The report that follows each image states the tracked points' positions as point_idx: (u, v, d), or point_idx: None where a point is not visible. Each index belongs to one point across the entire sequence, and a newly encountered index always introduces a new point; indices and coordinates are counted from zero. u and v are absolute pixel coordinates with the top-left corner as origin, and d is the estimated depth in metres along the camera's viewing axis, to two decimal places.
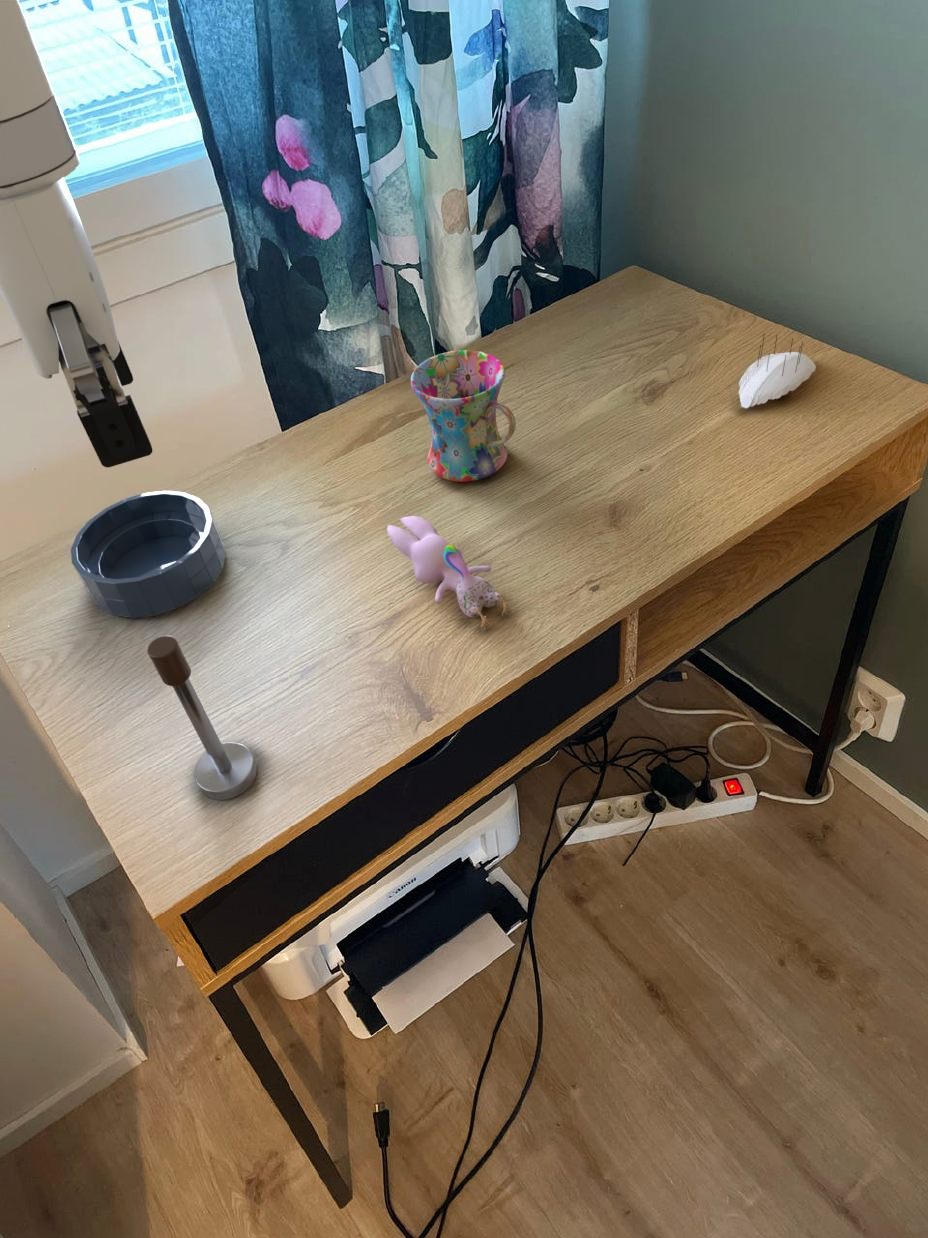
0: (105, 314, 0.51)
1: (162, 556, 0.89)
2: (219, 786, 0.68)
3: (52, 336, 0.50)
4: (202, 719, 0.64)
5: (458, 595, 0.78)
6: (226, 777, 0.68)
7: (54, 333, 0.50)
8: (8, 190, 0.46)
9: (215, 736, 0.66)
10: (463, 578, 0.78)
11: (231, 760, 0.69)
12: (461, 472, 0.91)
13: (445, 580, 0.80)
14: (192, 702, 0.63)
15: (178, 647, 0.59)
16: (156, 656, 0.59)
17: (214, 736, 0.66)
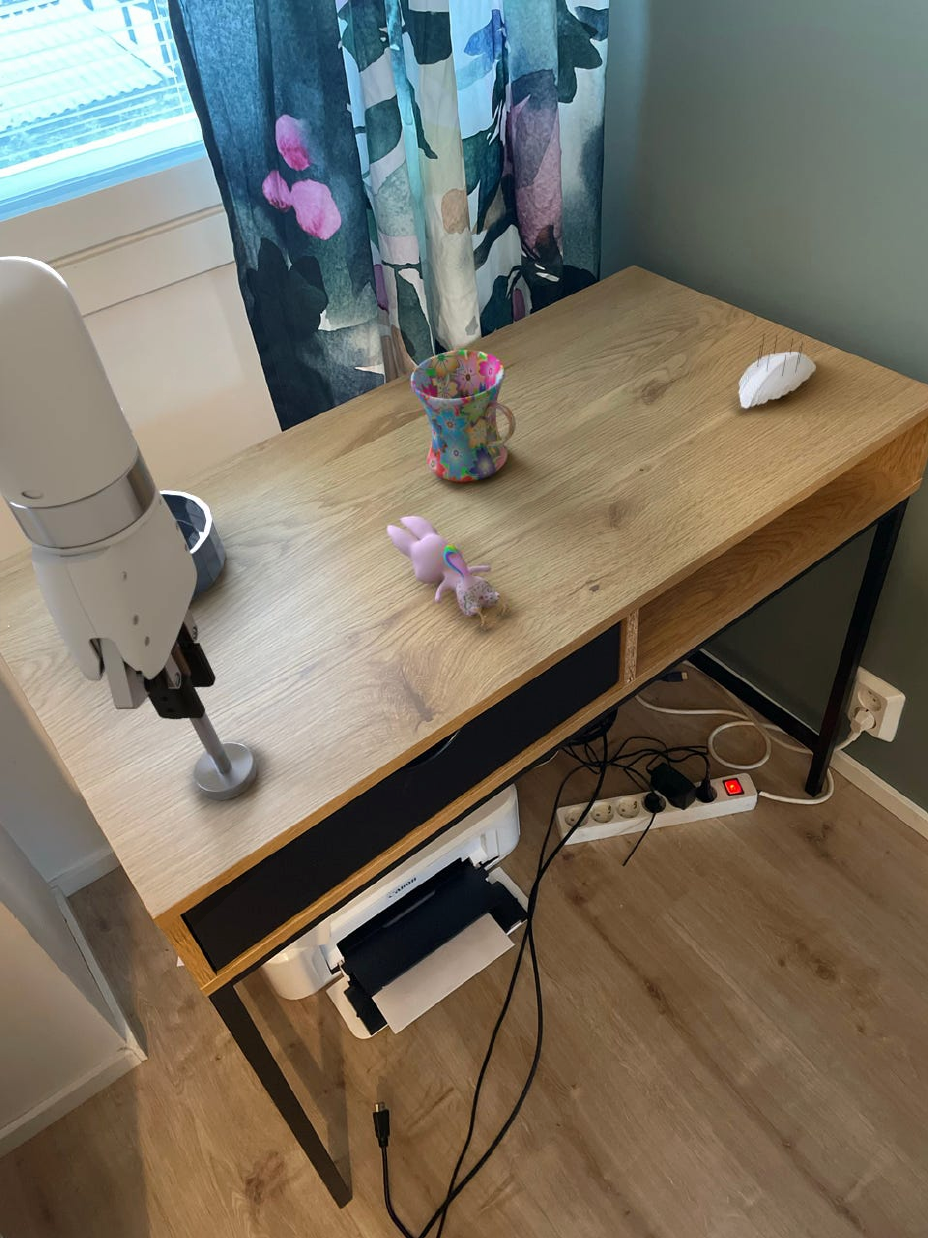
0: (145, 648, 0.53)
1: None
2: (219, 786, 0.68)
3: (93, 659, 0.53)
4: (202, 719, 0.64)
5: (458, 595, 0.78)
6: (226, 777, 0.68)
7: (95, 657, 0.52)
8: (65, 551, 0.48)
9: (215, 736, 0.66)
10: (463, 578, 0.78)
11: (231, 760, 0.69)
12: (461, 472, 0.91)
13: (445, 580, 0.80)
14: None
15: (178, 647, 0.59)
16: None
17: (214, 736, 0.66)
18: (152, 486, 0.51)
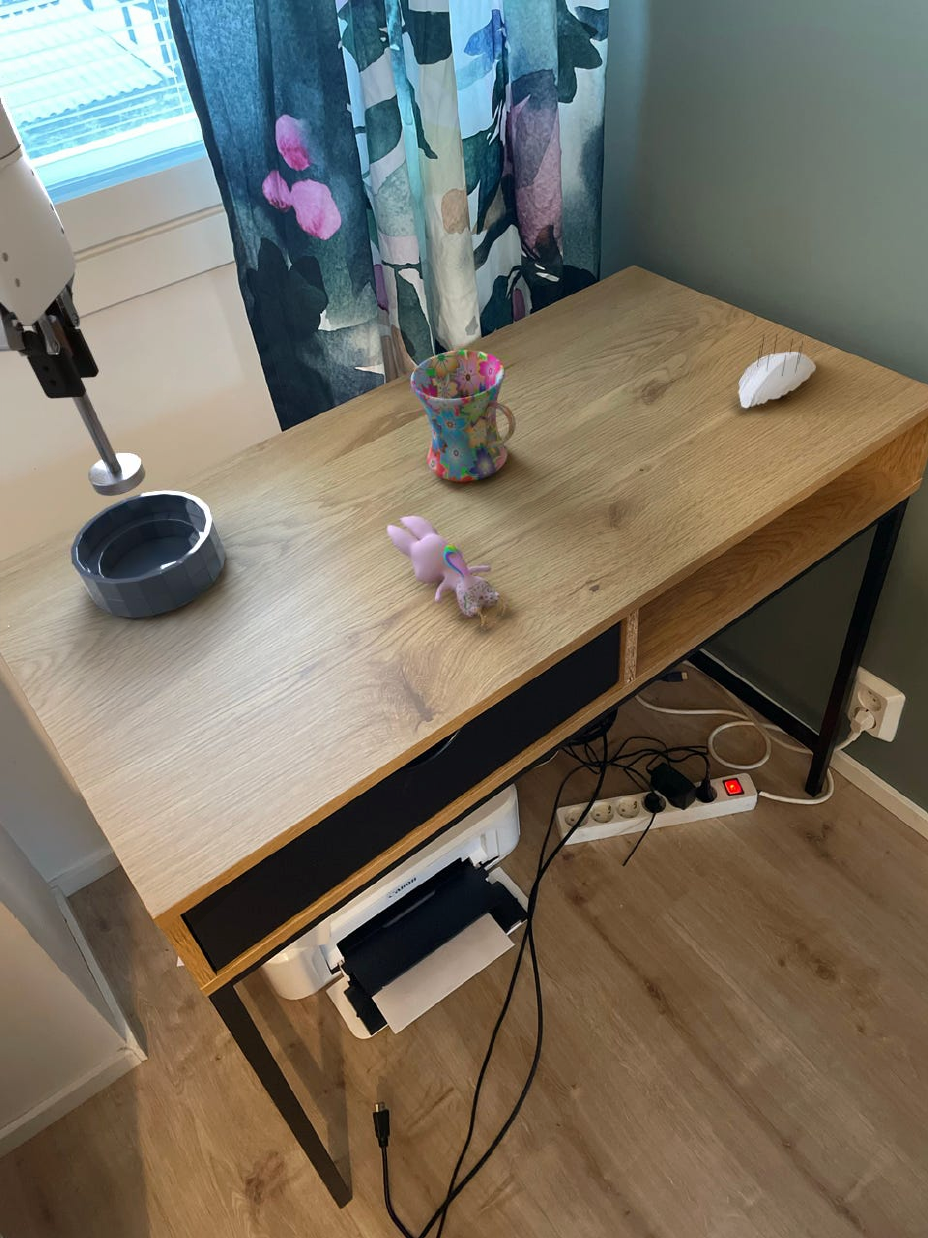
0: (16, 288, 0.61)
1: (162, 556, 0.89)
2: (108, 481, 0.77)
3: None
4: (88, 408, 0.73)
5: (458, 595, 0.78)
6: (115, 475, 0.77)
7: None
8: None
9: (102, 430, 0.75)
10: (463, 578, 0.78)
11: (121, 464, 0.78)
12: (461, 472, 0.91)
13: (445, 580, 0.80)
14: None
15: (58, 323, 0.68)
16: None
17: (101, 429, 0.75)
18: (17, 138, 0.59)
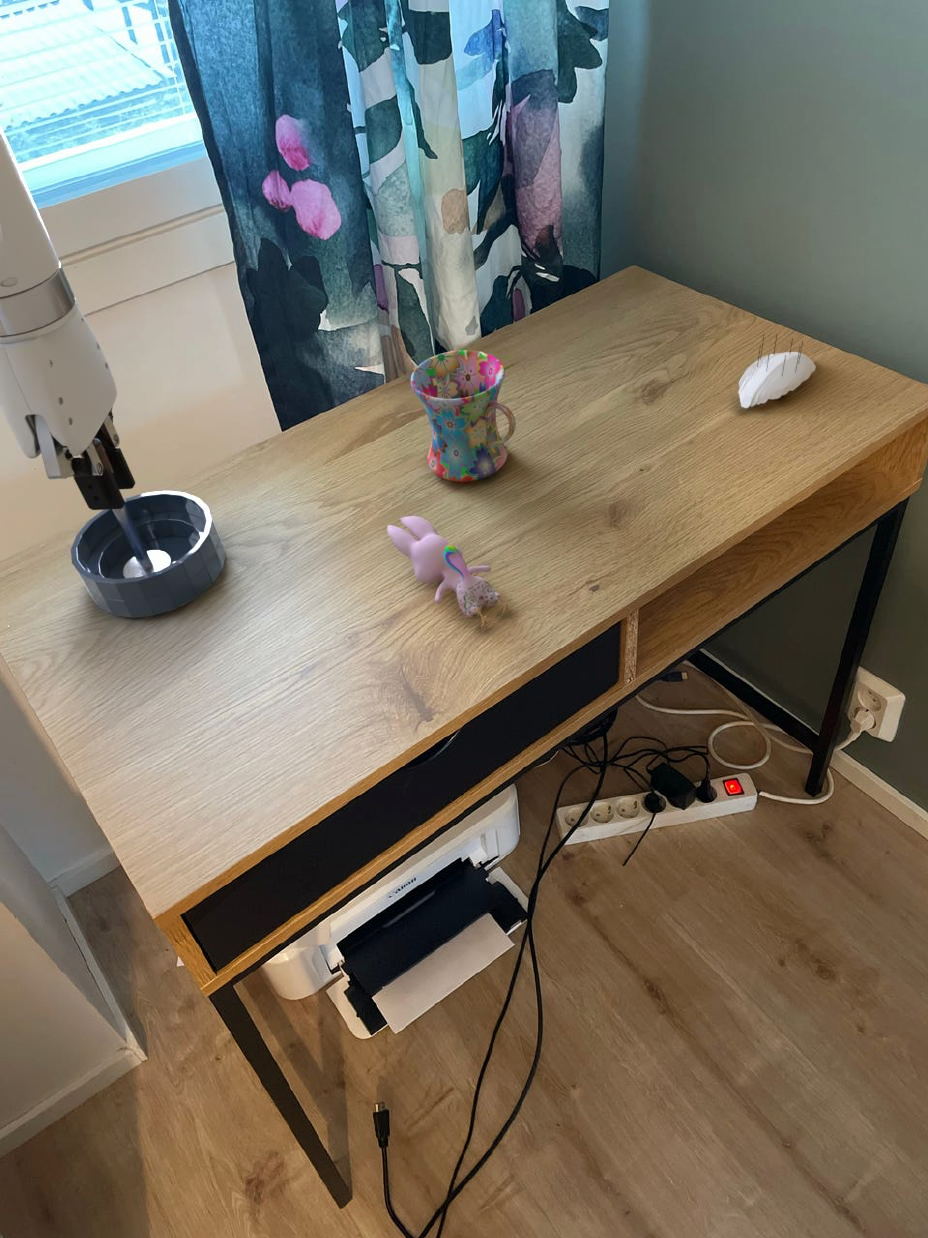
0: (69, 426, 0.69)
1: None
2: None
3: (29, 434, 0.69)
4: (125, 516, 0.81)
5: (458, 595, 0.78)
6: (148, 572, 0.85)
7: (30, 433, 0.69)
8: (4, 339, 0.65)
9: (137, 534, 0.82)
10: (463, 578, 0.78)
11: (153, 561, 0.86)
12: (461, 472, 0.91)
13: (445, 580, 0.80)
14: None
15: (102, 446, 0.76)
16: None
17: (136, 533, 0.82)
18: (72, 297, 0.67)
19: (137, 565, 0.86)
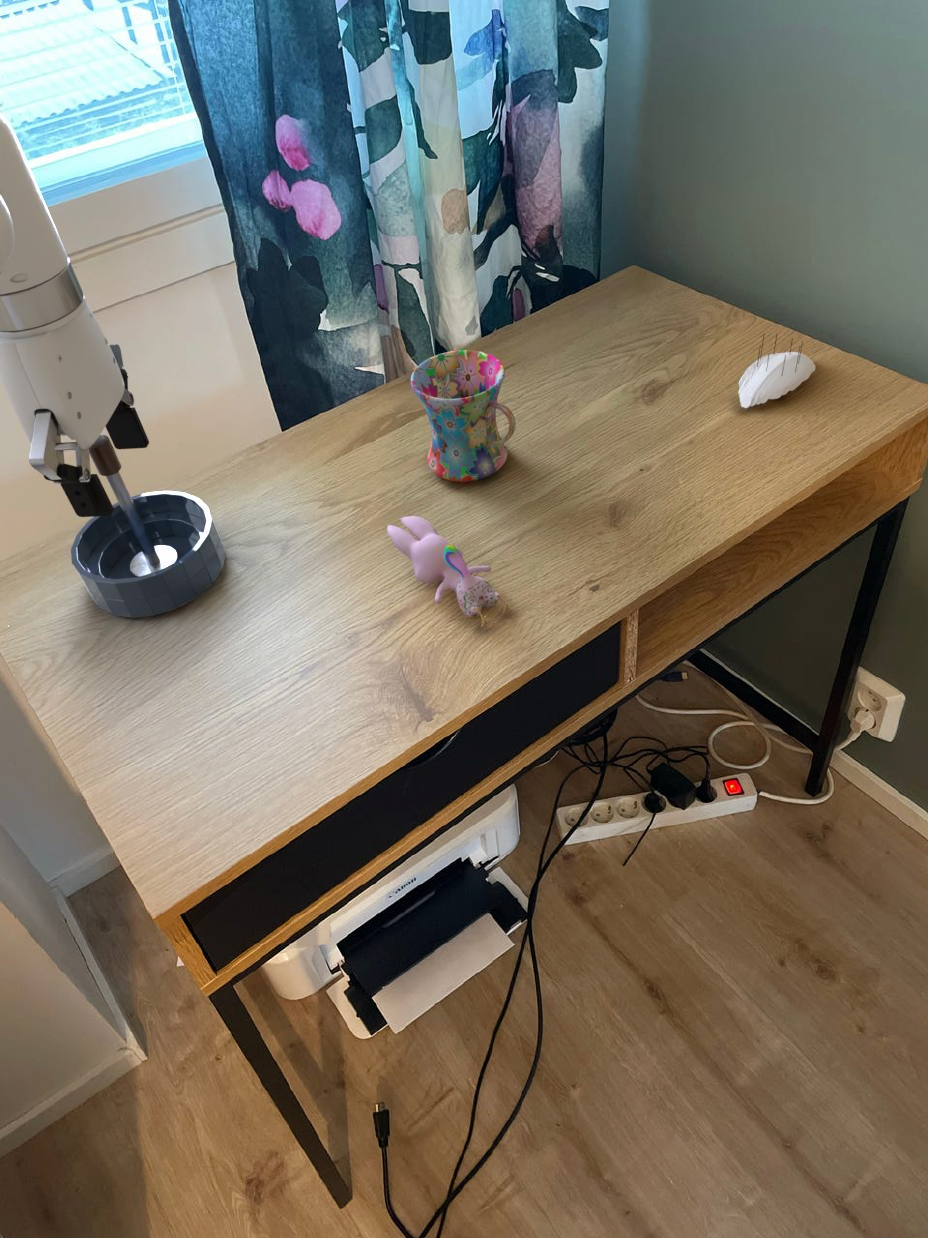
0: (78, 420, 0.70)
1: None
2: (149, 573, 0.85)
3: None
4: (132, 511, 0.82)
5: (458, 595, 0.78)
6: (155, 567, 0.86)
7: None
8: (14, 334, 0.66)
9: (144, 529, 0.83)
10: (463, 578, 0.78)
11: (160, 556, 0.87)
12: (461, 472, 0.91)
13: (445, 580, 0.80)
14: (123, 494, 0.80)
15: (109, 442, 0.77)
16: (92, 447, 0.76)
17: (143, 529, 0.83)
18: (81, 293, 0.68)
19: (144, 560, 0.87)
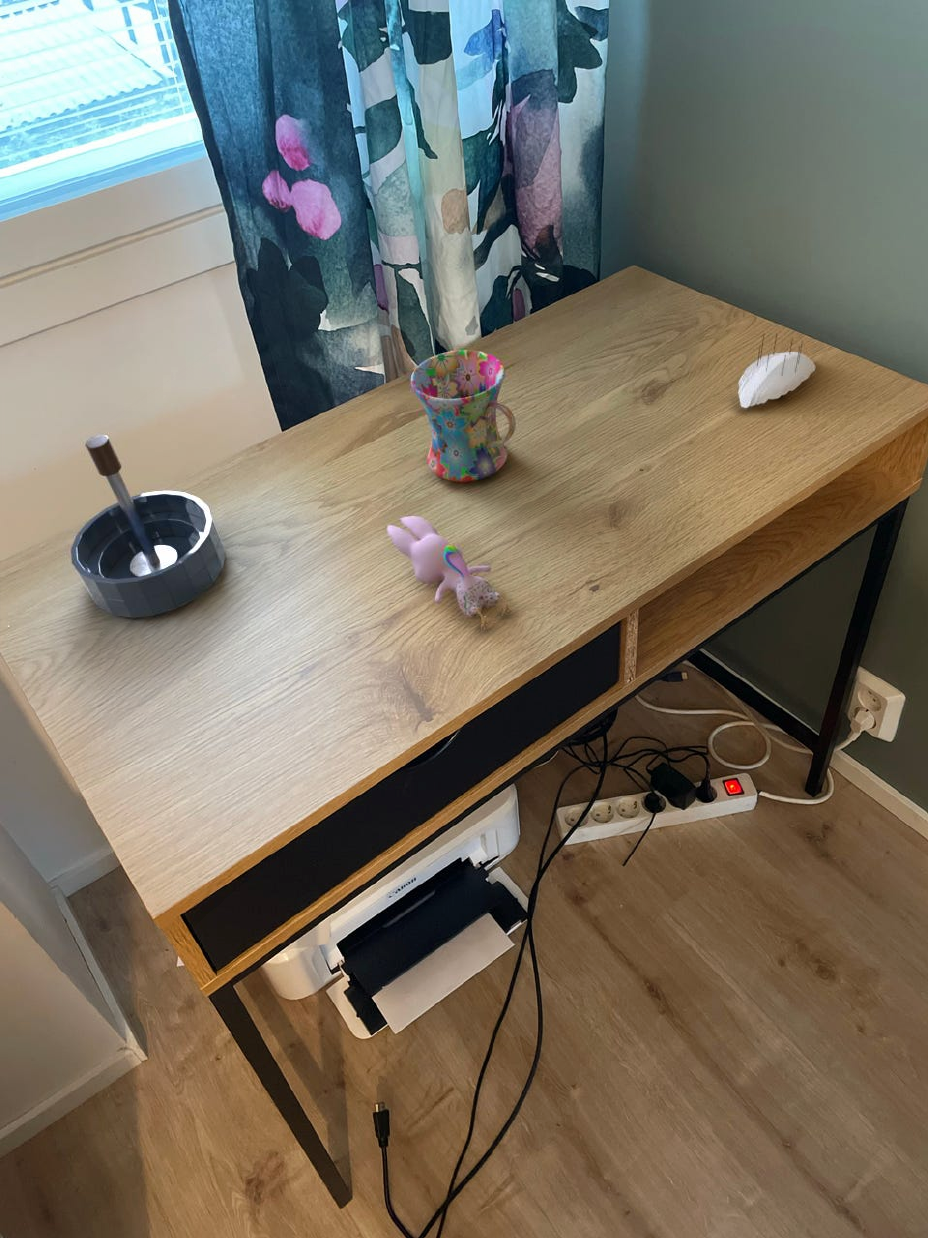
0: None
1: None
2: (149, 573, 0.85)
3: None
4: (132, 511, 0.82)
5: (458, 595, 0.78)
6: (155, 567, 0.86)
7: None
8: None
9: (144, 529, 0.83)
10: (463, 578, 0.78)
11: (160, 556, 0.87)
12: (461, 472, 0.91)
13: (445, 580, 0.80)
14: (123, 494, 0.80)
15: (109, 442, 0.77)
16: (92, 447, 0.76)
17: (143, 529, 0.83)
18: None
19: (144, 560, 0.87)
